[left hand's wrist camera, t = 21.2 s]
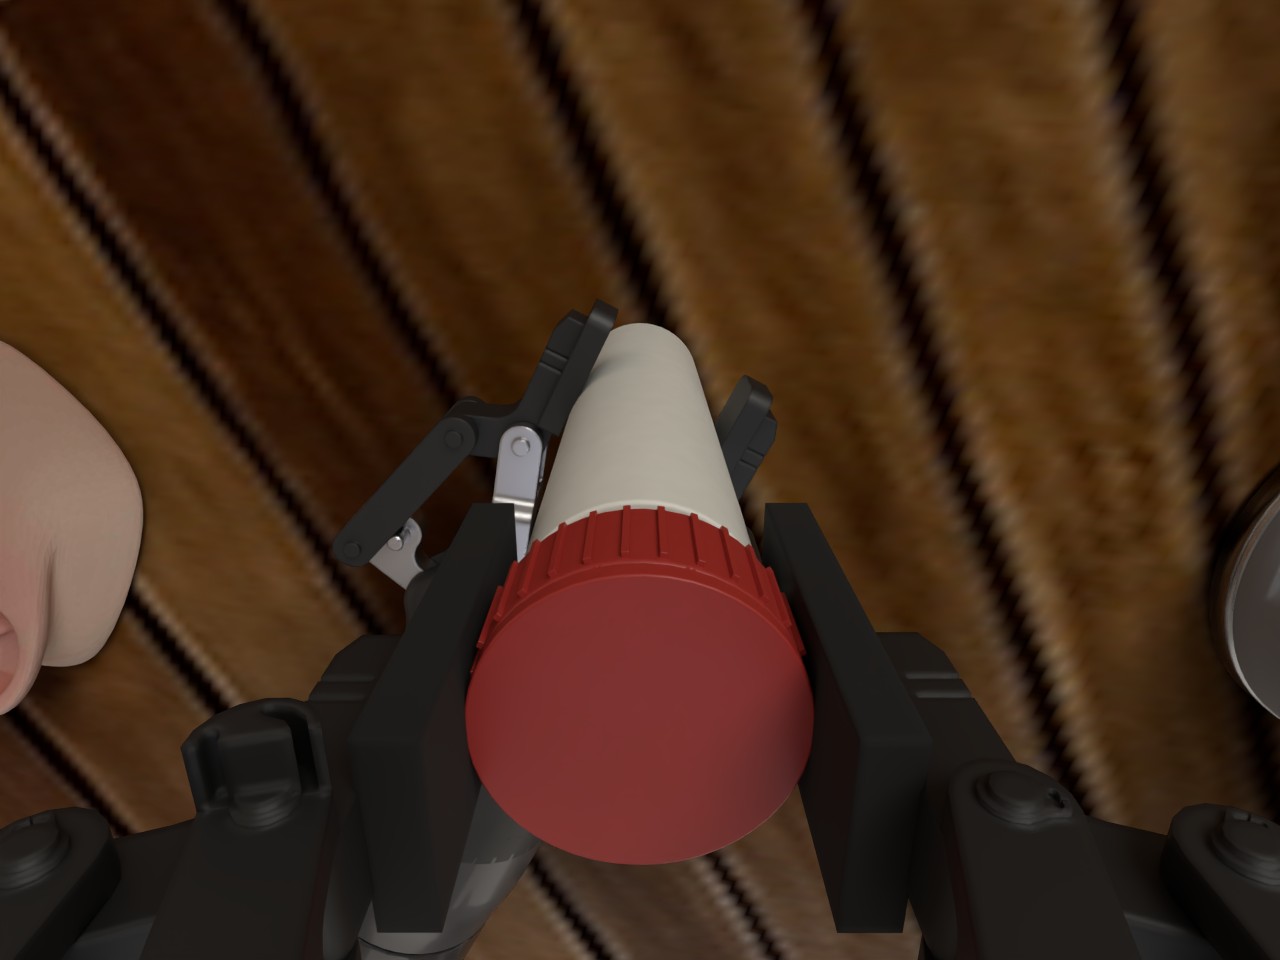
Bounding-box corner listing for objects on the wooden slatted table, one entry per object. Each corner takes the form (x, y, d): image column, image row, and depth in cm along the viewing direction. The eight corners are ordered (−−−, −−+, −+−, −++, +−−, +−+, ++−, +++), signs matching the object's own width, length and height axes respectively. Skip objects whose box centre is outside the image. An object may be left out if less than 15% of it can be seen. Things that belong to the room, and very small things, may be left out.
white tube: (696, 433, 30) (781, 805, 12) (585, 434, 30) (501, 808, 12) (697, 322, 28) (797, 553, 10) (581, 323, 28) (478, 557, 10)
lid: (584, 804, 13) (574, 914, 11) (428, 587, 12) (384, 669, 10) (839, 693, 13) (878, 791, 11) (706, 446, 11) (721, 503, 9)
